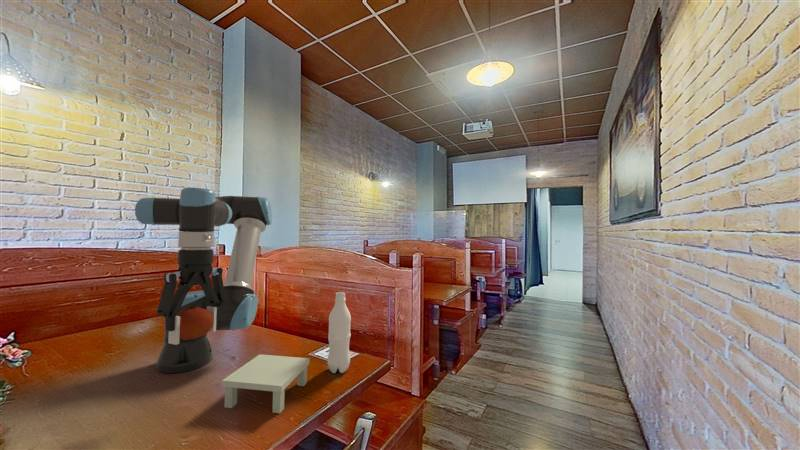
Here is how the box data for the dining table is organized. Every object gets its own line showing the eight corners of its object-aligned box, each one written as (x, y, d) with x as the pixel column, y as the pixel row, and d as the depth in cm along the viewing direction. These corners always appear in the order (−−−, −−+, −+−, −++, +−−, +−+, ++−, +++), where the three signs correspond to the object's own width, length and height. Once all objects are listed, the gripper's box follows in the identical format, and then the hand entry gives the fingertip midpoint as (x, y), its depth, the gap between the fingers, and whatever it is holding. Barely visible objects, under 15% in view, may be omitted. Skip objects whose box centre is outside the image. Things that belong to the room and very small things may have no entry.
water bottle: (344, 376, 93) (346, 295, 93) (323, 373, 94) (325, 294, 95) (352, 366, 100) (354, 291, 100) (332, 364, 101) (334, 290, 102)
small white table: (221, 408, 76) (222, 380, 76) (259, 377, 91) (259, 354, 91) (280, 414, 73) (281, 386, 74) (308, 382, 89) (309, 358, 89)
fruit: (180, 347, 70) (181, 313, 70) (165, 339, 75) (166, 307, 75) (220, 336, 78) (221, 305, 78) (204, 329, 83) (205, 300, 83)
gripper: (160, 251, 65) (156, 355, 65) (242, 247, 86) (240, 326, 85) (138, 250, 68) (134, 350, 67) (223, 246, 88) (220, 322, 88)
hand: (193, 336), depth 76 cm, fingers closed on fruit, 9 cm apart
